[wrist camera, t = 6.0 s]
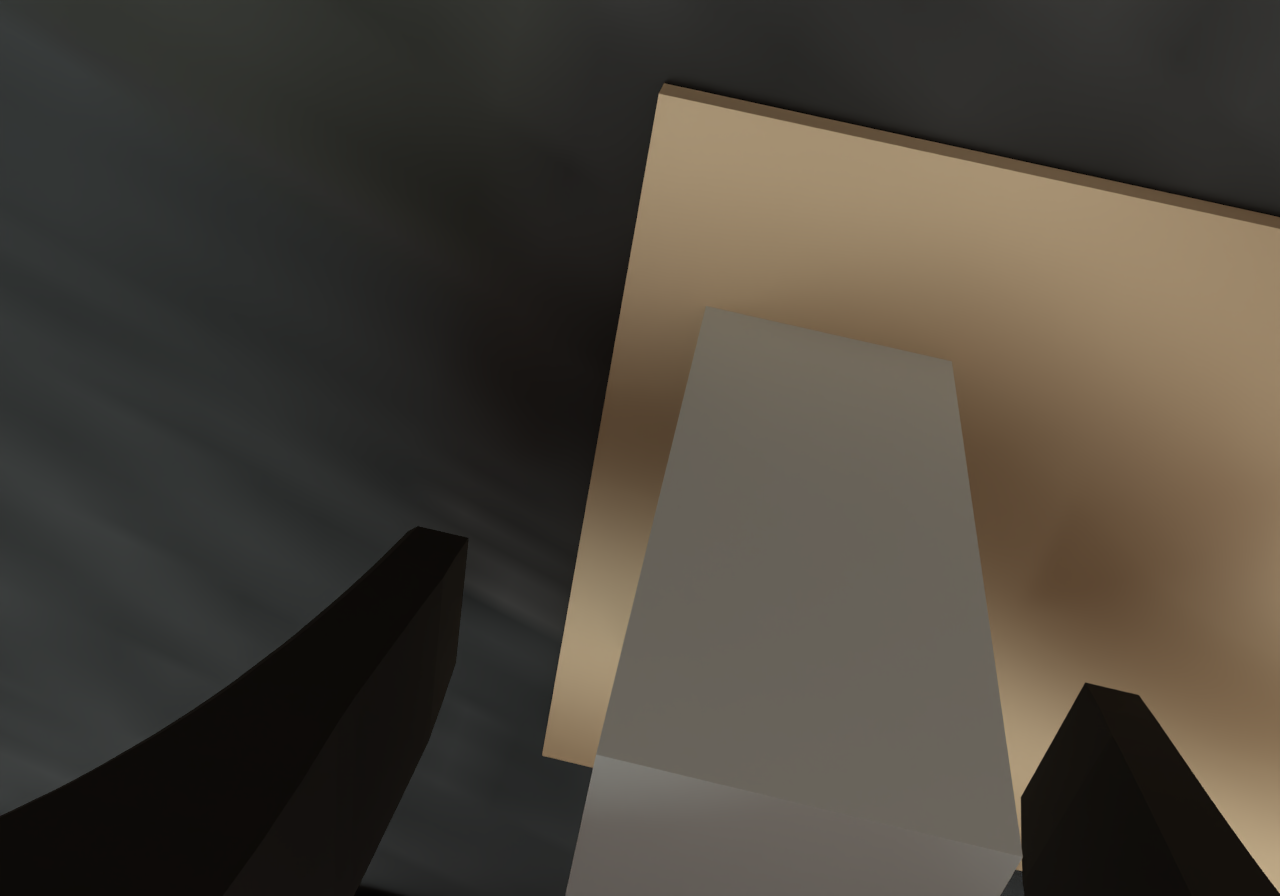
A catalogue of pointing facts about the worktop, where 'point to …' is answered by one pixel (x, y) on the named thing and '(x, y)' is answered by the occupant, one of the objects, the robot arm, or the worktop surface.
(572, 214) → the worktop surface
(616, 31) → the worktop surface
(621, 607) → the board
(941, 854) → the slab
